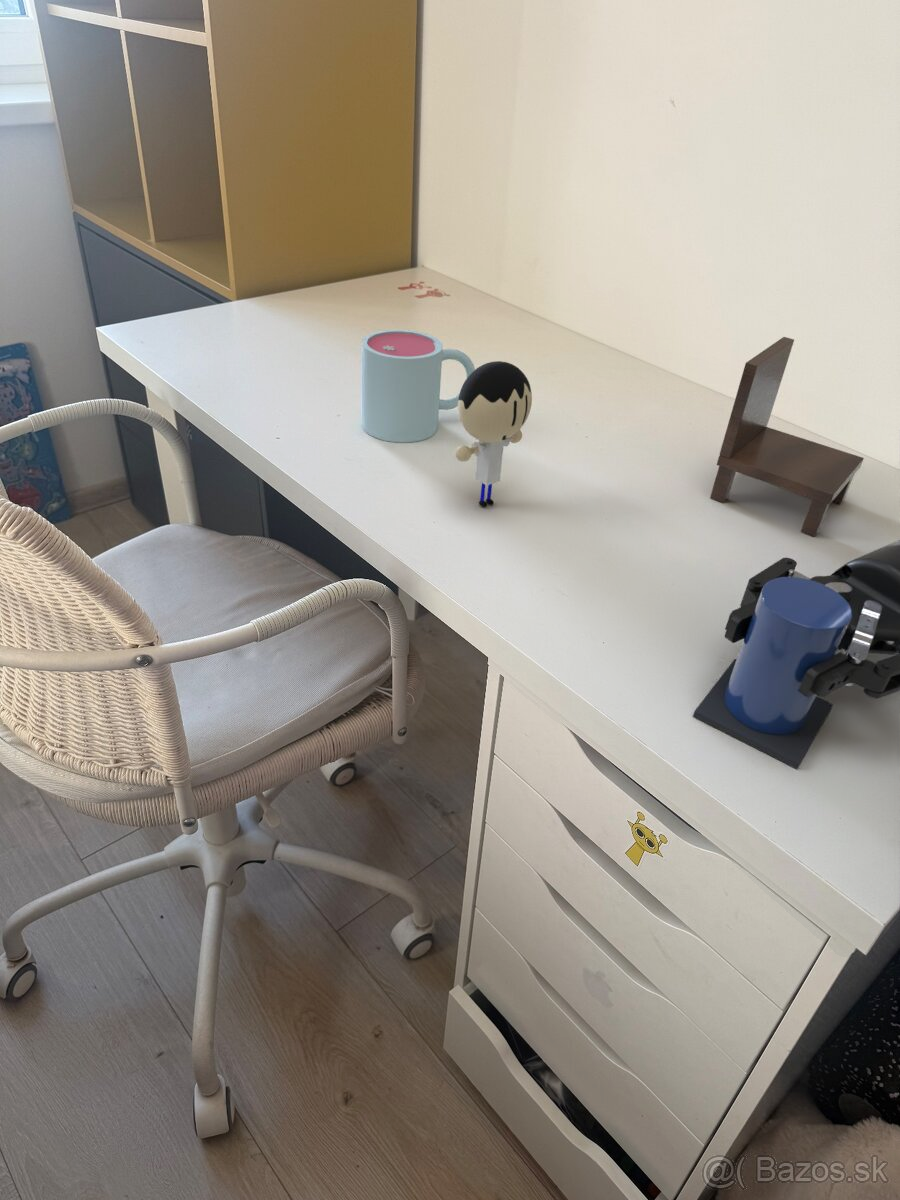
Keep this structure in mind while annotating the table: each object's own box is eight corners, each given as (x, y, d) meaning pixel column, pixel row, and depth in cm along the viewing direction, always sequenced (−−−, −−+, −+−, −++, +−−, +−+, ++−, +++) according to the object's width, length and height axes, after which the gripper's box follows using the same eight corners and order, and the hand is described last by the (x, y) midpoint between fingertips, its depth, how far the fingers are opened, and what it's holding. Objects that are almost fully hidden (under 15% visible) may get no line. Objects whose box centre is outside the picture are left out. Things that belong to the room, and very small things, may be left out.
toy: (475, 530, 82) (489, 384, 73) (432, 502, 85) (440, 361, 76) (535, 504, 86) (555, 365, 77) (492, 479, 90) (506, 344, 81)
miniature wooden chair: (847, 499, 92) (900, 367, 83) (816, 539, 85) (871, 398, 76) (744, 464, 97) (783, 336, 88) (706, 498, 90) (745, 362, 81)
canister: (767, 672, 66) (807, 569, 60) (822, 723, 62) (871, 617, 56) (707, 690, 64) (743, 585, 58) (760, 744, 60) (805, 637, 54)
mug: (369, 444, 95) (370, 360, 89) (355, 411, 102) (355, 330, 96) (483, 437, 98) (491, 355, 93) (461, 405, 106) (467, 327, 100)
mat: (830, 709, 64) (833, 704, 64) (797, 769, 59) (799, 763, 58) (732, 664, 68) (734, 658, 67) (692, 716, 62) (694, 710, 62)
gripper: (842, 507, 68) (703, 561, 60) (1015, 599, 59) (877, 677, 51) (813, 581, 73) (679, 640, 65) (969, 677, 64) (836, 760, 56)
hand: (767, 656), depth 58 cm, fingers closed on canister, 6 cm apart
